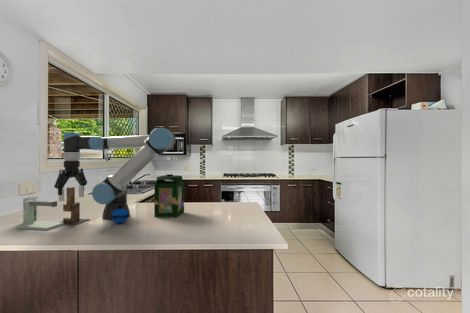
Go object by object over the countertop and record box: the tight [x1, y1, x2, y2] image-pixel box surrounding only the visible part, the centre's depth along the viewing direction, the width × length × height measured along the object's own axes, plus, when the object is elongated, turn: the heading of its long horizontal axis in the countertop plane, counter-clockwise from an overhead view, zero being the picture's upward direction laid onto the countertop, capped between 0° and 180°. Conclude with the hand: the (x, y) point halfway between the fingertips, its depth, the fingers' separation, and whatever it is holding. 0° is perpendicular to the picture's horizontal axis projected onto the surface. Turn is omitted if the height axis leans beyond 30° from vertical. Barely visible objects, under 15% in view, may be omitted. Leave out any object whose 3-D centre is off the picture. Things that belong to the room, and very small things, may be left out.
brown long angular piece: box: [62, 186, 81, 224], centre depth 144 cm, size 4×7×19 cm, turn 169°
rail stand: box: [16, 200, 65, 231], centre depth 136 cm, size 18×10×13 cm, turn 79°
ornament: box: [111, 205, 130, 225], centre depth 143 cm, size 9×9×10 cm
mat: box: [59, 218, 91, 227], centre depth 145 cm, size 12×12×1 cm
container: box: [153, 173, 185, 219], centre depth 164 cm, size 15×18×25 cm
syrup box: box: [22, 194, 39, 224], centre depth 144 cm, size 6×6×14 cm
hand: (71, 198), depth 144 cm, fingers open, 13 cm apart
